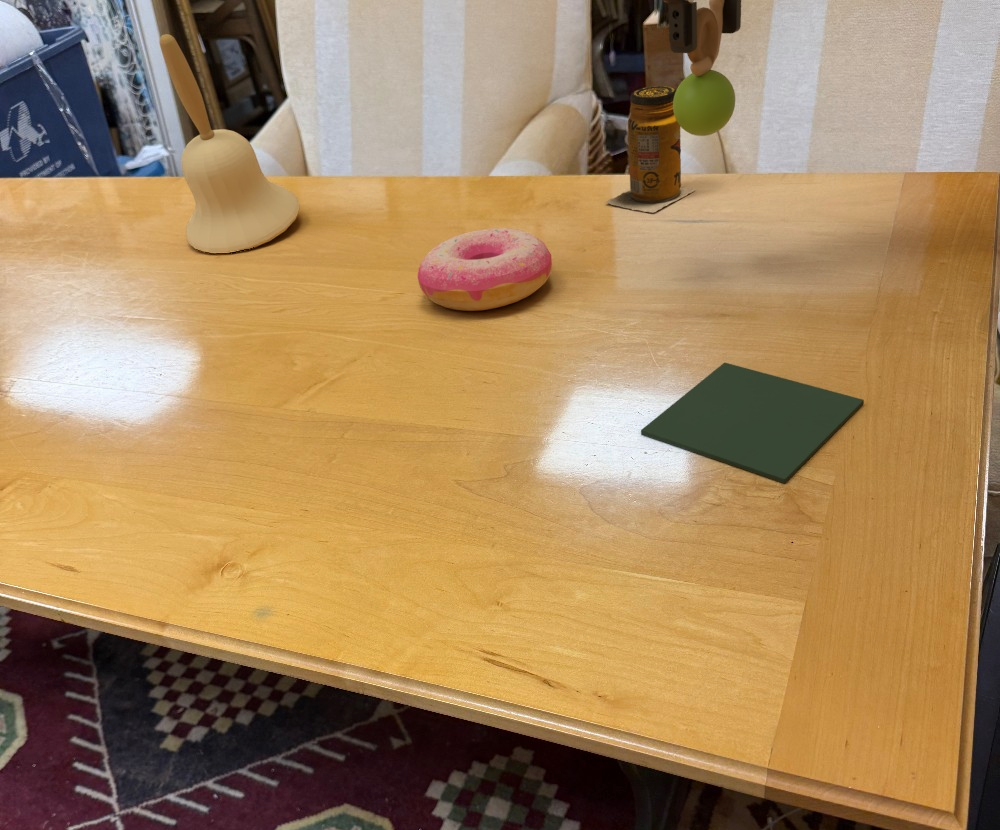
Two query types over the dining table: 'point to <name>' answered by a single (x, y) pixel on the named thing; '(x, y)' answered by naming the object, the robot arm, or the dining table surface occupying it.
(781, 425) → the mat
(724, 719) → the dining table surface
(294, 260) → the dining table surface
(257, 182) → the handbell
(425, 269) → the donut
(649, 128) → the condiment
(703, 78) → the snail figurine
